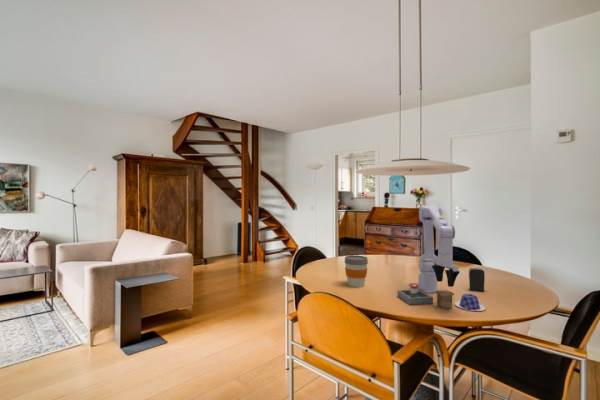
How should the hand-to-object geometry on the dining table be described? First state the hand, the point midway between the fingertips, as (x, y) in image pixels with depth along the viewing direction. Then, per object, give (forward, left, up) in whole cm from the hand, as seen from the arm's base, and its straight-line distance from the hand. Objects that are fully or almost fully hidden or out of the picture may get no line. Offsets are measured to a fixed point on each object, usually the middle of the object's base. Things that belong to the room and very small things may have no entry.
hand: (445, 283), depth 132 cm
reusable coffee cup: (-39, -26, -11) cm, 48 cm away
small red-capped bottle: (-11, -8, -10) cm, 17 cm away
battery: (-19, +32, -11) cm, 38 cm away
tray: (-11, -8, -10) cm, 17 cm away
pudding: (+1, +12, -11) cm, 16 cm away
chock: (0, 0, -10) cm, 11 cm away
